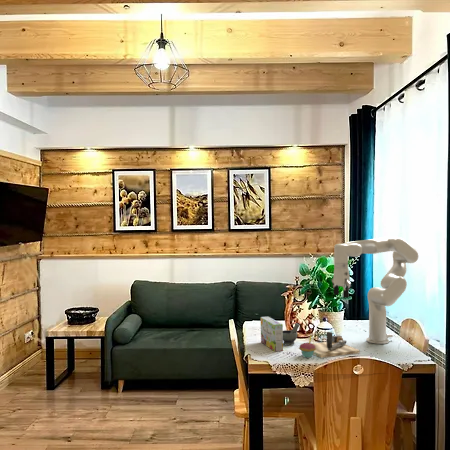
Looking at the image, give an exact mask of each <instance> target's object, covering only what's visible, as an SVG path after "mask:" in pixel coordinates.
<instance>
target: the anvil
mask: <svg viewBox="0 0 450 450" xmlns="http://www.w3.org/2000/svg"><path fill="white" fill-rule="evenodd" d="M338 337H342V338H343V336H342V335H340V334H339V335H332V342H334V343H335V342H337V338H338Z"/></svg>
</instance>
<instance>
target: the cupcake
mask: <svg viewBox="0 0 450 450" xmlns="http://www.w3.org/2000/svg"><path fill="white" fill-rule="evenodd" d="M311 341H312V334H310V336H309V340H308V341H307V342H303V343H301V344H299V348H298V349H299V350H300V351H301V353H302V356H303V357H304V358H312V357H313V355H314V354H313V352H314V351H315V350H316V347H315V345H313V344H312V343H311Z"/></svg>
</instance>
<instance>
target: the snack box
mask: <svg viewBox="0 0 450 450" xmlns="http://www.w3.org/2000/svg"><path fill="white" fill-rule="evenodd" d="M283 327H284V324H283V323H281V322H279V321H278V320H275V319H274V318H272V317H271V316H260V342H261V343H262V344H263V345H265V346H266V347H268V348H269V349H271V351H273V352H275V353H276V352H283V351H284V344H283V342H284V341H283V331H284V330H283Z"/></svg>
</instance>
